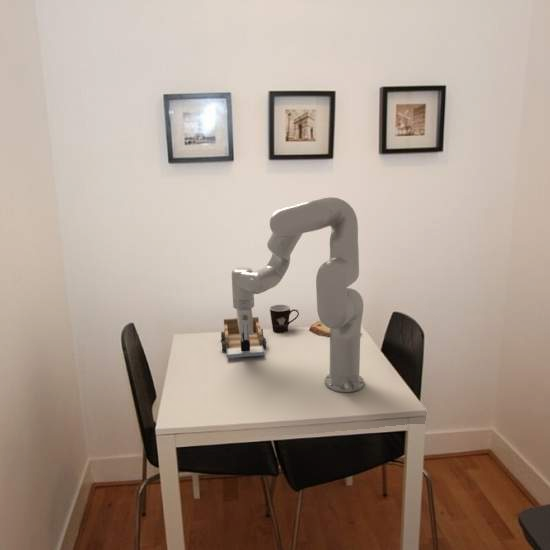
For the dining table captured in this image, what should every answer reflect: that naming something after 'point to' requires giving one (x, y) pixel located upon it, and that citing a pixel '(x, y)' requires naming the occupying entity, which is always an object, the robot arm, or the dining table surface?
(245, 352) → the panel
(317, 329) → the bread slice
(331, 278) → the robot arm
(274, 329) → the coffee mug
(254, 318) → the truck bed
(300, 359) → the dining table surface
